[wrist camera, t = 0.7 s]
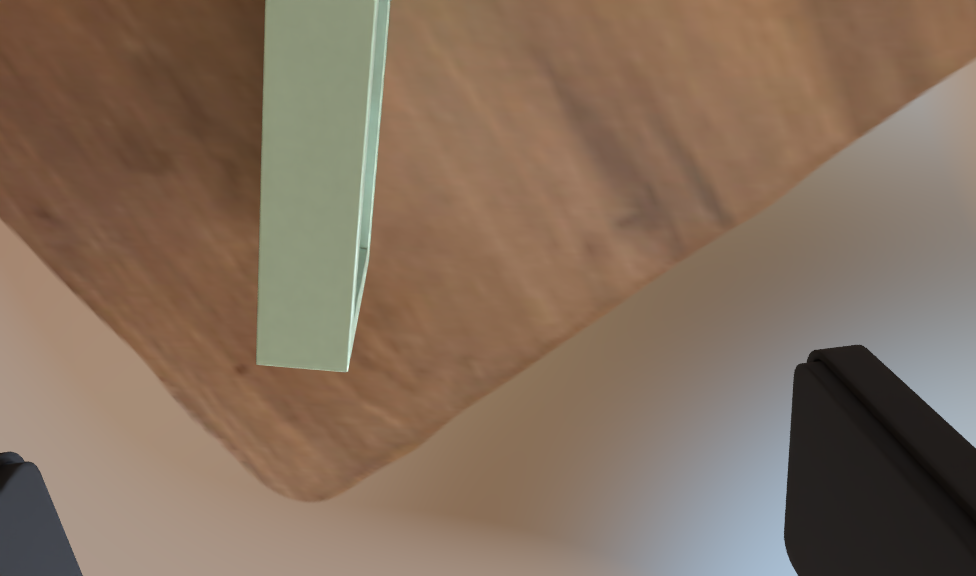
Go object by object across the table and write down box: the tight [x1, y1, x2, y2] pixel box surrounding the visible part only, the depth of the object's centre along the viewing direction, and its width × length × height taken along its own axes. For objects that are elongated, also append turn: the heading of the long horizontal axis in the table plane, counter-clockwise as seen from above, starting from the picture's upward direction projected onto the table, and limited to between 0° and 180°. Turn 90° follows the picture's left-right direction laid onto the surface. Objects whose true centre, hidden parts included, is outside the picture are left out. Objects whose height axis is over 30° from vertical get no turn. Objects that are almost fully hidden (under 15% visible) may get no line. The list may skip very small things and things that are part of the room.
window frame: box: [256, 0, 391, 372], centre depth 33 cm, size 20×4×12 cm, turn 172°
